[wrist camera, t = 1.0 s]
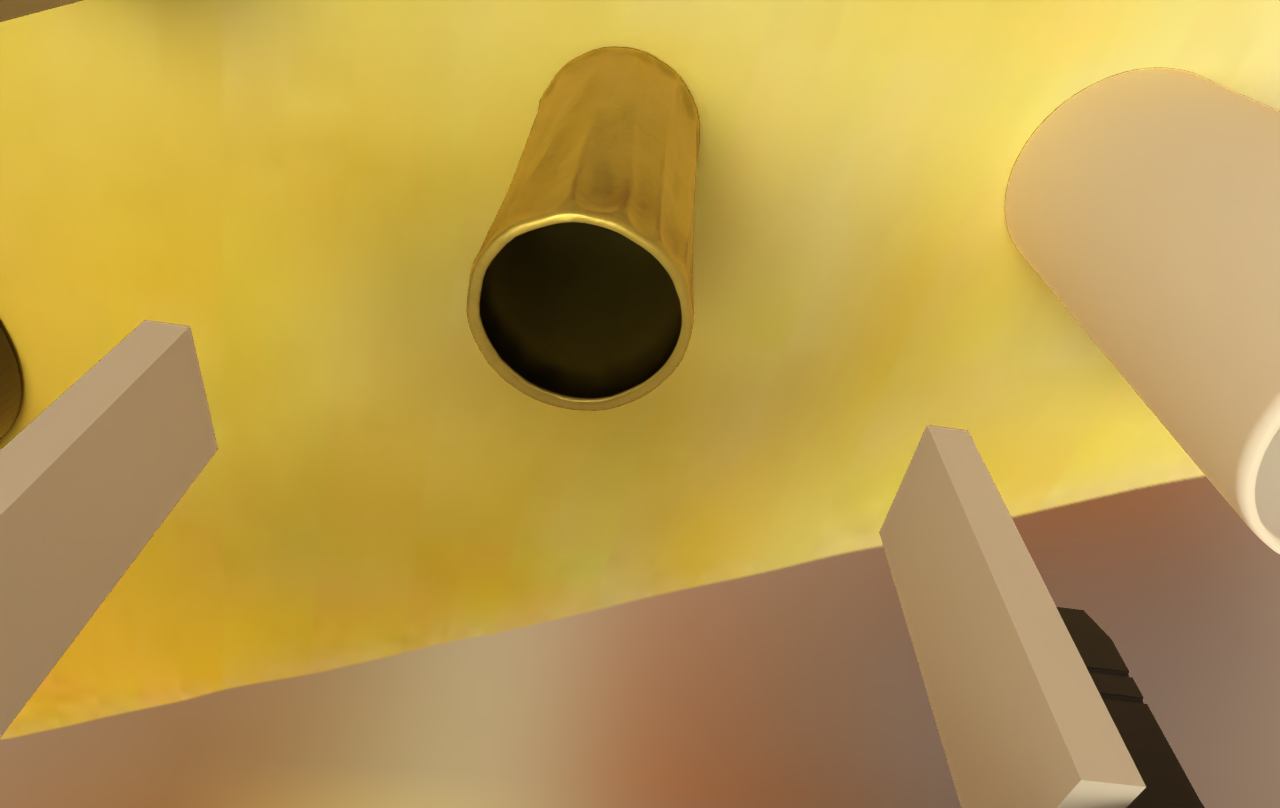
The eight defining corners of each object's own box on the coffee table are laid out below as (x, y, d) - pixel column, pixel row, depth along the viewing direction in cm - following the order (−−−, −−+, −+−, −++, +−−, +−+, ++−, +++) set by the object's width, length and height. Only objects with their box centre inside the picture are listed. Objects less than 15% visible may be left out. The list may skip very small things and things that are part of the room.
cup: (959, 220, 31) (1162, 493, 18) (1127, 20, 27) (1556, 188, 14) (1110, 312, 33) (1391, 618, 20) (1289, 140, 29) (1797, 387, 16)
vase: (555, 23, 27) (464, 154, 16) (722, 74, 28) (753, 235, 17) (523, 186, 31) (430, 393, 19) (673, 228, 32) (669, 451, 20)
